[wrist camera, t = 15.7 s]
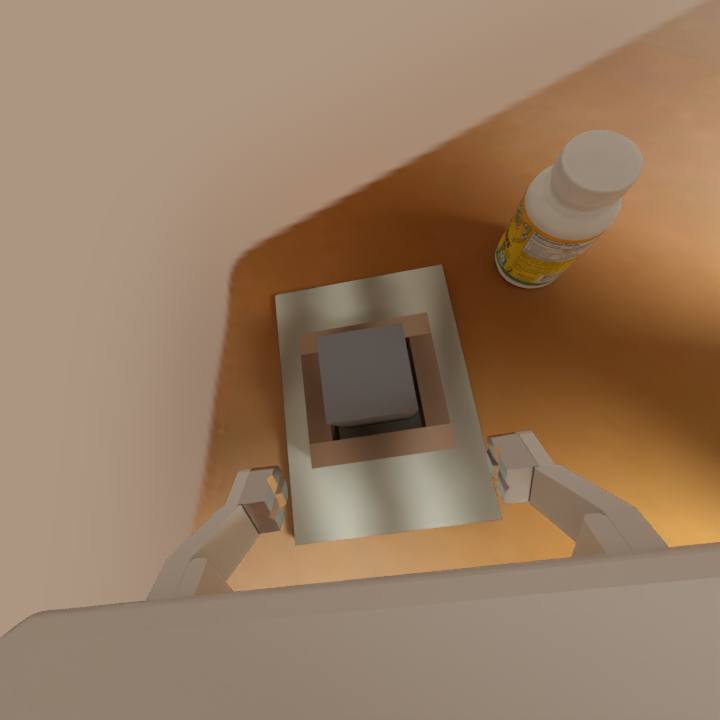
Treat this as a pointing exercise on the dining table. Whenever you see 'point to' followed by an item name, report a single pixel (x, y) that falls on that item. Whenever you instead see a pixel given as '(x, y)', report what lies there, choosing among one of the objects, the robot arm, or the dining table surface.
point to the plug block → (366, 376)
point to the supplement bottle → (568, 207)
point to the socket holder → (384, 440)
